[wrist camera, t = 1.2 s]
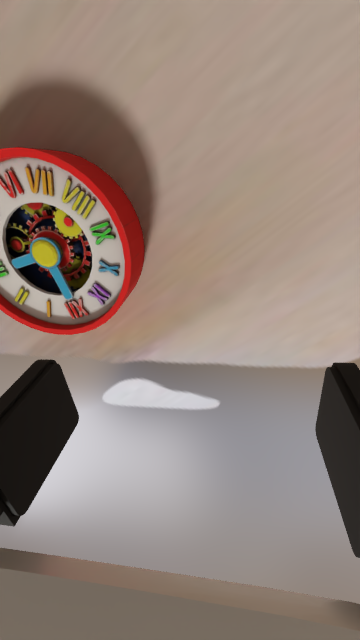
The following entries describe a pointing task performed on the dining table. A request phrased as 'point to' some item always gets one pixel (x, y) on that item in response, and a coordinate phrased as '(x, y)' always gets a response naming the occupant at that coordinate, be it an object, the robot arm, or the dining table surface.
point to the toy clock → (64, 241)
